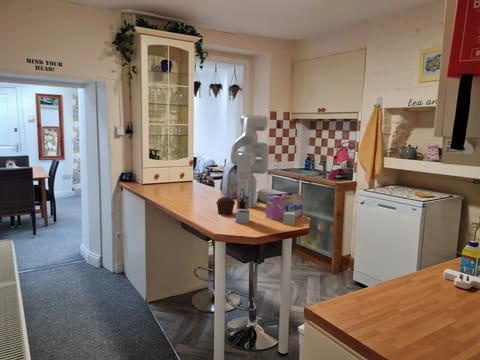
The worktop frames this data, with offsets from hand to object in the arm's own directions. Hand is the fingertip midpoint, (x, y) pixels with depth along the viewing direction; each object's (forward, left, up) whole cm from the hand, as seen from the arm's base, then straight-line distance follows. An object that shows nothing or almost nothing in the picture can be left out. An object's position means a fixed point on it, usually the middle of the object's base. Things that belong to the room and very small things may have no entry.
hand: (242, 206), depth 202 cm
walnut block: (0, 0, -1) cm, 1 cm away
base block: (0, 0, -8) cm, 8 cm away
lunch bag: (-73, -14, -8) cm, 75 cm away
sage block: (-2, +26, -8) cm, 27 cm away
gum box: (-16, +24, -9) cm, 30 cm away
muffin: (-16, -12, -8) cm, 22 cm away
